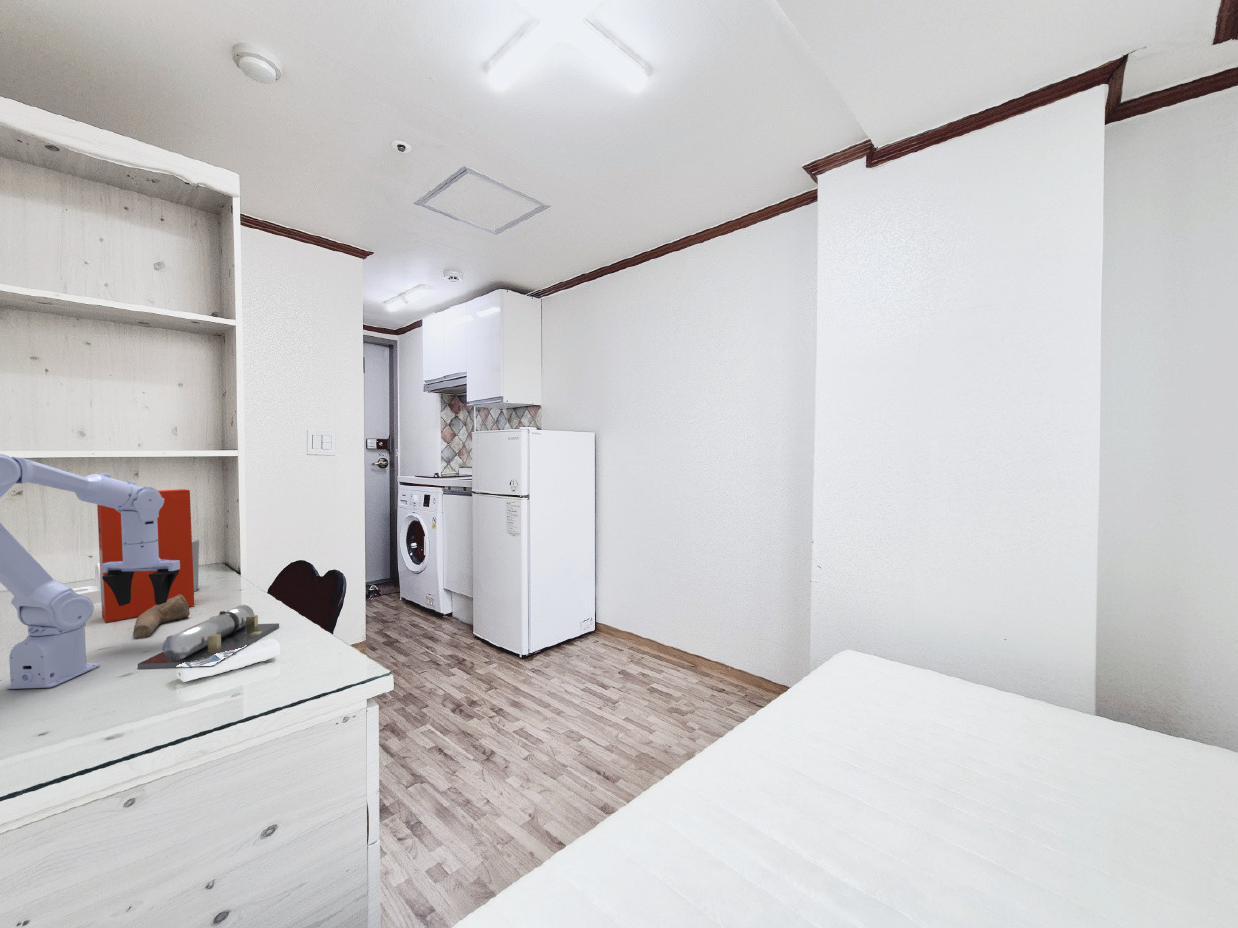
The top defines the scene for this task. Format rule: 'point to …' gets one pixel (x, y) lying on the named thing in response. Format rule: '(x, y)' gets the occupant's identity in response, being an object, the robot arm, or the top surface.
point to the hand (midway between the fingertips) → (143, 603)
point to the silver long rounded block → (205, 632)
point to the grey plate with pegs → (216, 644)
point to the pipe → (161, 616)
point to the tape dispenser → (92, 588)
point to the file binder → (171, 547)
